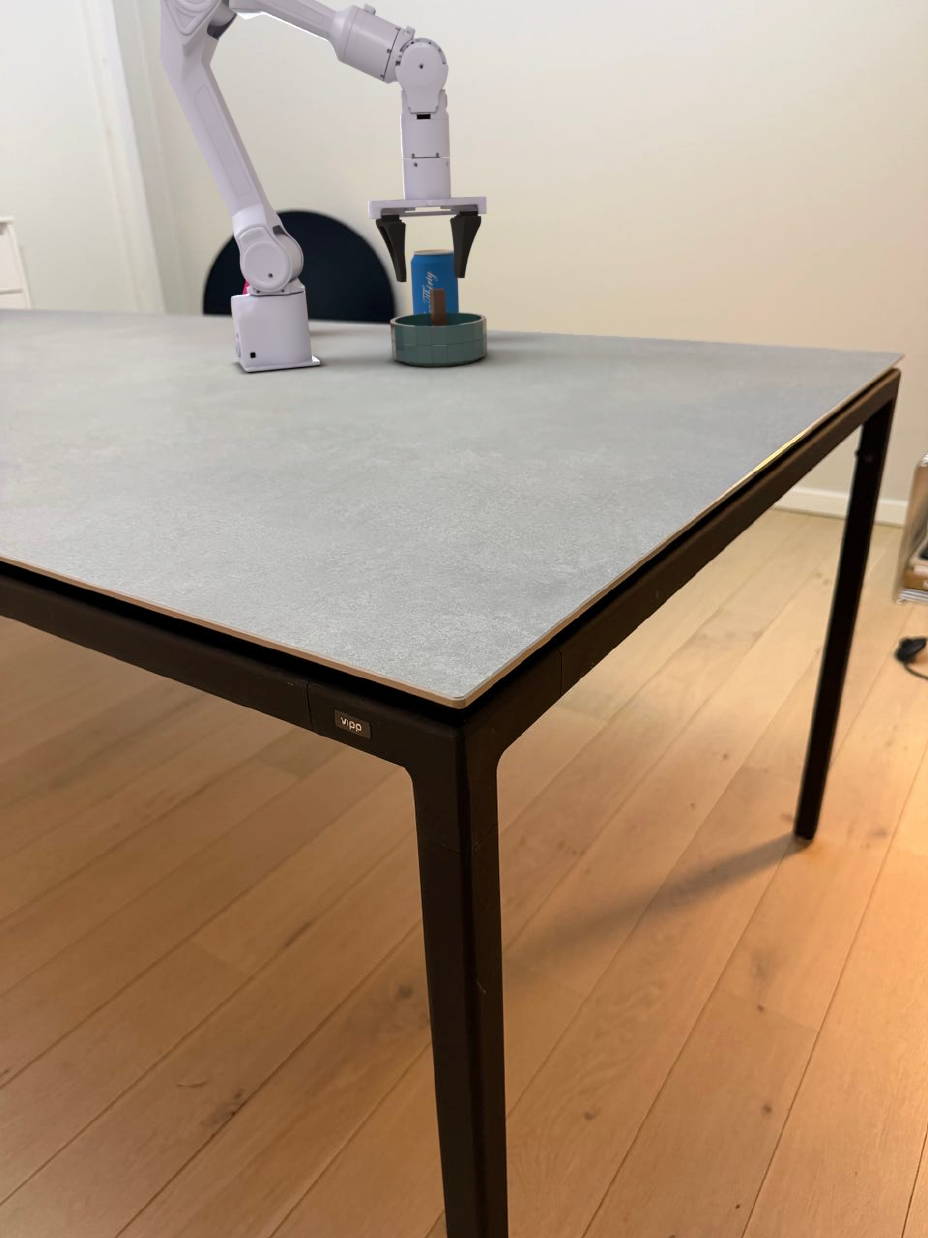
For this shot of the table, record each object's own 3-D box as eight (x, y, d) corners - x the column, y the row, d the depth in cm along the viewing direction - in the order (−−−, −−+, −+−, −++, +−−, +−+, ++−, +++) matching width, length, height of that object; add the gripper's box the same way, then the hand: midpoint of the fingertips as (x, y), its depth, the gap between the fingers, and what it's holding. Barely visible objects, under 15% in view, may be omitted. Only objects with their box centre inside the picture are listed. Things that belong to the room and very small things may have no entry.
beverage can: (409, 344, 129) (404, 253, 124) (421, 337, 135) (417, 249, 130) (453, 345, 128) (450, 252, 123) (464, 337, 134) (461, 248, 128)
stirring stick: (436, 355, 118) (433, 290, 115) (432, 353, 119) (429, 288, 116) (447, 354, 119) (445, 289, 115) (443, 352, 120) (441, 287, 116)
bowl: (408, 371, 112) (406, 329, 110) (382, 355, 123) (379, 316, 120) (501, 362, 116) (500, 321, 114) (467, 347, 126) (466, 309, 124)
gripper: (375, 159, 104) (383, 286, 110) (495, 155, 108) (496, 278, 114) (360, 160, 110) (368, 280, 116) (474, 156, 114) (476, 273, 120)
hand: (430, 279), depth 115 cm, fingers open, 7 cm apart
